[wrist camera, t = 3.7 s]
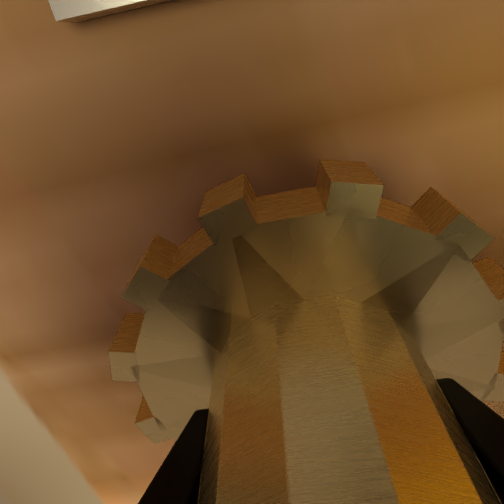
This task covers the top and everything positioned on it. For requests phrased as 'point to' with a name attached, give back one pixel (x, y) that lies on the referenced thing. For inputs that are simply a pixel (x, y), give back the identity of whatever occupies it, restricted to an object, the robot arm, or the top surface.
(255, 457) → the gear
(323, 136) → the top surface
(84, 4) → the carrier plate
